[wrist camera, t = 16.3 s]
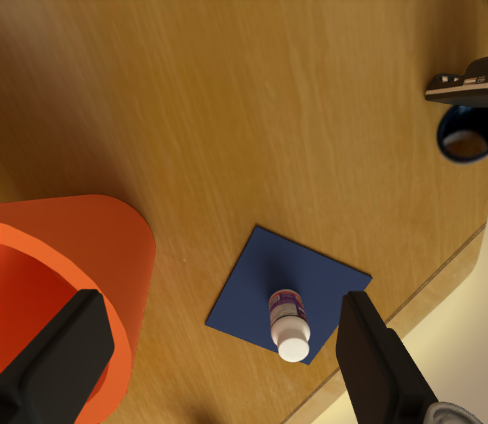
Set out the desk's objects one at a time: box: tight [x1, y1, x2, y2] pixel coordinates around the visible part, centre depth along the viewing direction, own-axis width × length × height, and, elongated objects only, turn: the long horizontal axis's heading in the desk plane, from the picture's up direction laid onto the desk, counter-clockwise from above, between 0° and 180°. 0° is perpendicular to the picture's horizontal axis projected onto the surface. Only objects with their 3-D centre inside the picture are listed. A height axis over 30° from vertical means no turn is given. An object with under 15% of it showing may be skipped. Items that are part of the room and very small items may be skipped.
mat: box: [205, 226, 372, 365], centre depth 45 cm, size 20×20×1 cm
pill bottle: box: [269, 289, 310, 362], centre depth 40 cm, size 5×5×10 cm
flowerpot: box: [0, 194, 155, 424], centre depth 33 cm, size 25×25×20 cm
